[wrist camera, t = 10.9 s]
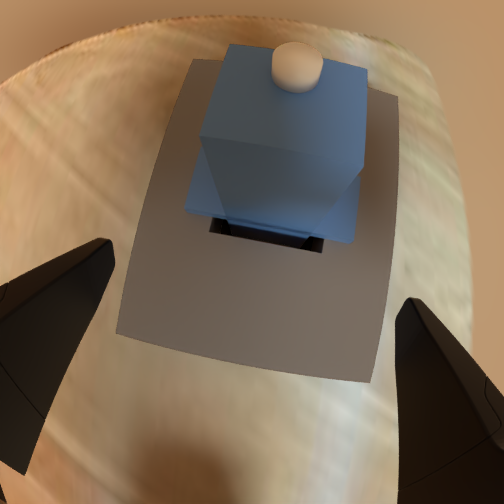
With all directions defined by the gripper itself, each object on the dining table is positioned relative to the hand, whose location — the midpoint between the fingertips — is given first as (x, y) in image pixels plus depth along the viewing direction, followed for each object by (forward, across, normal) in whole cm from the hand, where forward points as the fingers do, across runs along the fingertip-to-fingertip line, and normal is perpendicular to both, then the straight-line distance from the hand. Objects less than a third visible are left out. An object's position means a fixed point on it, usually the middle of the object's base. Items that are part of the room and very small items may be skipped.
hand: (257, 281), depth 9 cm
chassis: (+12, 0, +4) cm, 12 cm away
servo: (+12, 0, +4) cm, 13 cm away
